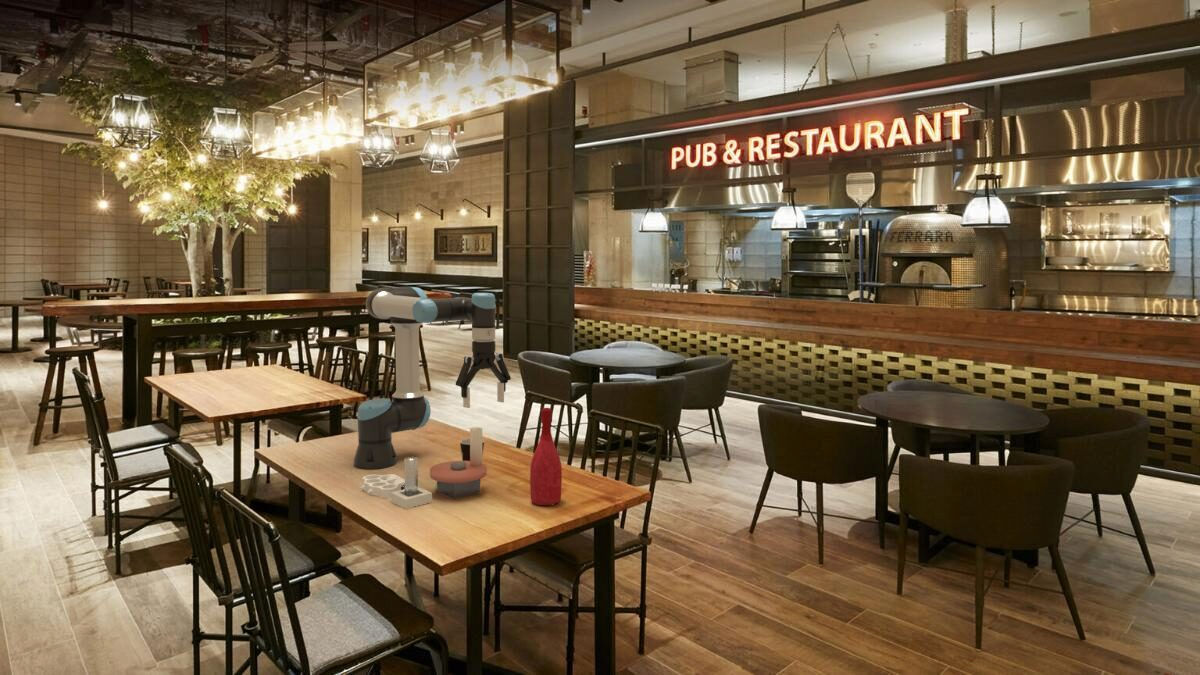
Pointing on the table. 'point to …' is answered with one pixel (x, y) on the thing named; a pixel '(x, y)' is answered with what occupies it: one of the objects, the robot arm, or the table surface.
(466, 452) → the coffee mug
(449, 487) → the valve housing
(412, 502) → the eye block
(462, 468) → the handwheel
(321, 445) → the table surface
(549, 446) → the wine bottle
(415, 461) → the steel pin
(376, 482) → the knuckle duster
